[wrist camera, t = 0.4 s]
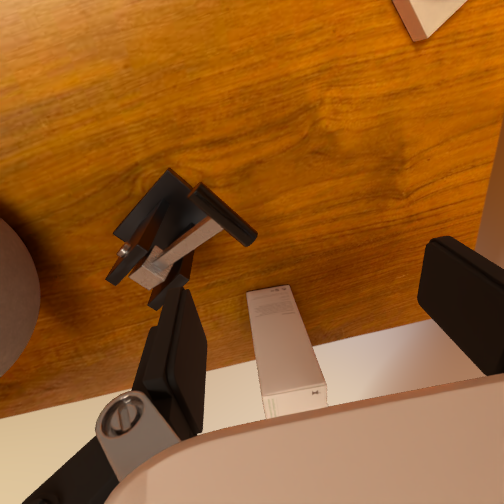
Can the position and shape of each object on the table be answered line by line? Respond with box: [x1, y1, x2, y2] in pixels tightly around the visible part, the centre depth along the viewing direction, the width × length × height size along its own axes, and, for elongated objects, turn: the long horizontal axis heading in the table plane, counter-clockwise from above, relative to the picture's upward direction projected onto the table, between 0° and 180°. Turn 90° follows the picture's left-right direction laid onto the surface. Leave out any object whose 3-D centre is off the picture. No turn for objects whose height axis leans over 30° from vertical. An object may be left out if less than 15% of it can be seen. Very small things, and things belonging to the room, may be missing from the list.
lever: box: [128, 182, 258, 290], centre depth 22 cm, size 12×5×2 cm, turn 134°
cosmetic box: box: [246, 285, 329, 419], centre depth 34 cm, size 8×7×16 cm
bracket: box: [105, 168, 208, 311], centre depth 28 cm, size 10×8×12 cm
